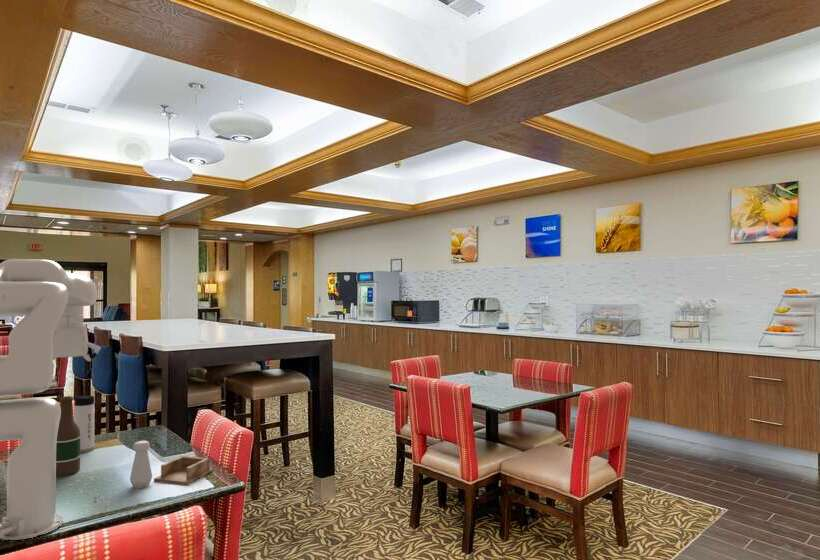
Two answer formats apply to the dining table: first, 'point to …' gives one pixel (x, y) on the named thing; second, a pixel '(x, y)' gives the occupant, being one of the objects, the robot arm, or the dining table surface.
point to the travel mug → (85, 420)
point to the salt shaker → (141, 466)
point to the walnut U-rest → (184, 470)
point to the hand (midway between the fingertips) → (69, 374)
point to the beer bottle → (67, 441)
